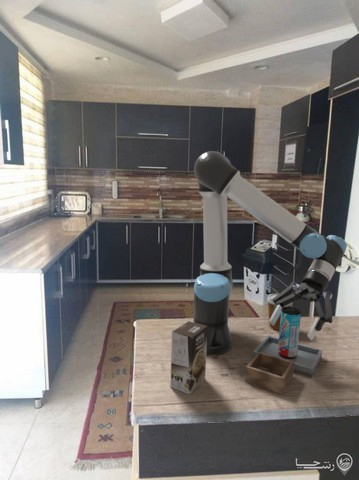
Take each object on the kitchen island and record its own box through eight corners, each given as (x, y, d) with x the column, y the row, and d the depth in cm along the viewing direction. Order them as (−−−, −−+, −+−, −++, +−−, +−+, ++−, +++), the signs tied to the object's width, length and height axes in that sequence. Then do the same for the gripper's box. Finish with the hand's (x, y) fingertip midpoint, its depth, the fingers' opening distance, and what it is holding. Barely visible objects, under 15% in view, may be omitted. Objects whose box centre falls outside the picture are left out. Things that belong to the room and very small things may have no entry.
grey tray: (252, 358, 111) (253, 351, 111) (267, 342, 123) (267, 335, 122) (312, 377, 102) (312, 369, 101) (321, 357, 113) (322, 350, 113)
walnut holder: (244, 381, 99) (245, 366, 98) (258, 365, 108) (259, 351, 107) (282, 394, 93) (283, 379, 92) (293, 376, 102) (294, 361, 101)
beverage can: (280, 348, 116) (283, 305, 114) (298, 353, 113) (302, 309, 111) (275, 356, 111) (279, 311, 109) (294, 361, 108) (298, 315, 106)
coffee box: (190, 395, 92) (192, 337, 89) (169, 387, 95) (170, 331, 92) (206, 379, 99) (208, 325, 97) (186, 372, 103) (188, 320, 100)
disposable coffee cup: (291, 333, 130) (294, 302, 128) (265, 330, 132) (267, 300, 130) (289, 323, 140) (291, 294, 137) (264, 320, 141) (266, 292, 139)
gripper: (359, 292, 110) (331, 351, 103) (289, 274, 128) (261, 323, 121) (353, 278, 105) (323, 339, 98) (282, 262, 124) (252, 312, 117)
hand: (289, 330), depth 110 cm, fingers open, 13 cm apart
